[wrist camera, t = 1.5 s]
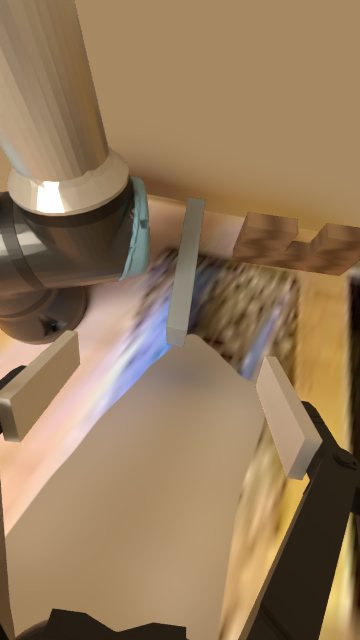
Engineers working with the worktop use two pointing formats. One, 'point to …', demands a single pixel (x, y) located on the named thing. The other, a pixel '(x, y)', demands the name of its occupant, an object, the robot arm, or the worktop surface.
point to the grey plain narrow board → (185, 273)
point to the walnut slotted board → (296, 245)
